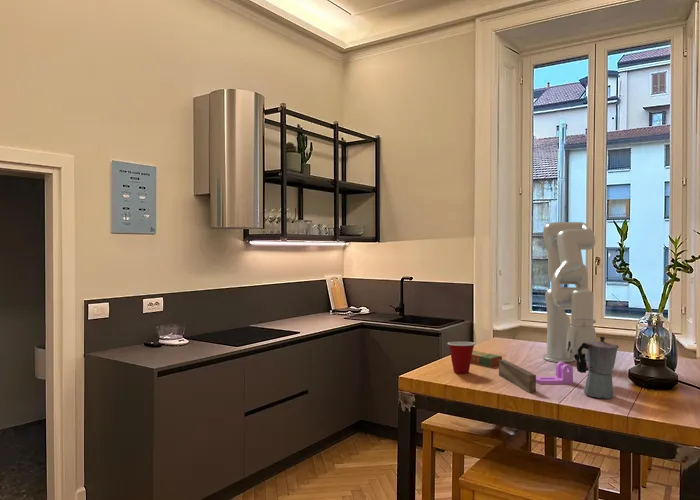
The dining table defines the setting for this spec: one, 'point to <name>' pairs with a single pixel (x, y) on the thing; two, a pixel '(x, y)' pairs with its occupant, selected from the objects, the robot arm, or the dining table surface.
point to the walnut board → (517, 376)
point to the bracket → (558, 375)
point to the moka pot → (599, 368)
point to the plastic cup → (461, 356)
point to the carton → (485, 359)
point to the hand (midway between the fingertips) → (581, 371)
